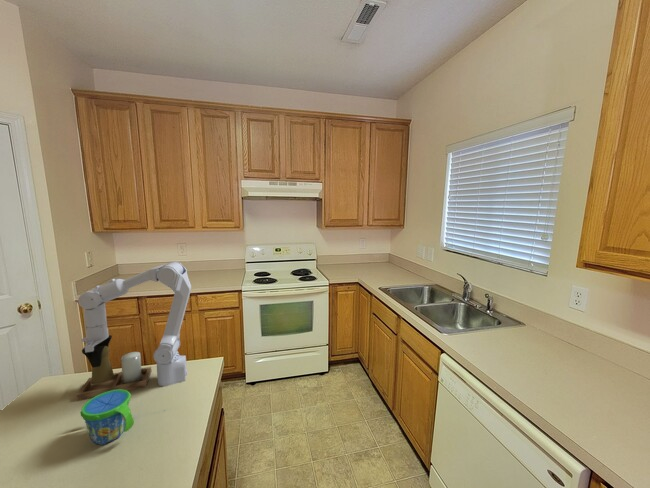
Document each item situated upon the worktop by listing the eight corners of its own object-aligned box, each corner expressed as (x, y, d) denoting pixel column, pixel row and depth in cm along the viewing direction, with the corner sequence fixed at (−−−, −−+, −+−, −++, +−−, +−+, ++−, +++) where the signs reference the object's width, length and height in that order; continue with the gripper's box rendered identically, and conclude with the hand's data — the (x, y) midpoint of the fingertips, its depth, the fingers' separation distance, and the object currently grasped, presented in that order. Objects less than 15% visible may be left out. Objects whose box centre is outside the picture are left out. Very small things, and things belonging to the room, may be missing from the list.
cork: (90, 377, 94) (86, 348, 93) (112, 370, 99) (108, 341, 97) (92, 385, 90) (88, 354, 89) (115, 377, 95) (111, 347, 93)
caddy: (151, 373, 105) (151, 366, 104) (146, 388, 96) (145, 381, 95) (89, 385, 97) (89, 377, 97) (77, 403, 88) (76, 395, 88)
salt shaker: (143, 375, 102) (141, 350, 101) (140, 384, 97) (138, 358, 96) (125, 379, 100) (123, 353, 98) (121, 388, 94) (118, 361, 93)
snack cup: (147, 429, 78) (145, 396, 77) (106, 460, 68) (103, 422, 67) (112, 414, 84) (109, 383, 82) (69, 440, 74) (66, 406, 73)
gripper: (89, 318, 97) (93, 354, 99) (70, 335, 84) (75, 376, 85) (113, 315, 100) (116, 350, 101) (99, 331, 86) (102, 371, 88)
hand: (99, 362), depth 93 cm, fingers closed on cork, 5 cm apart
